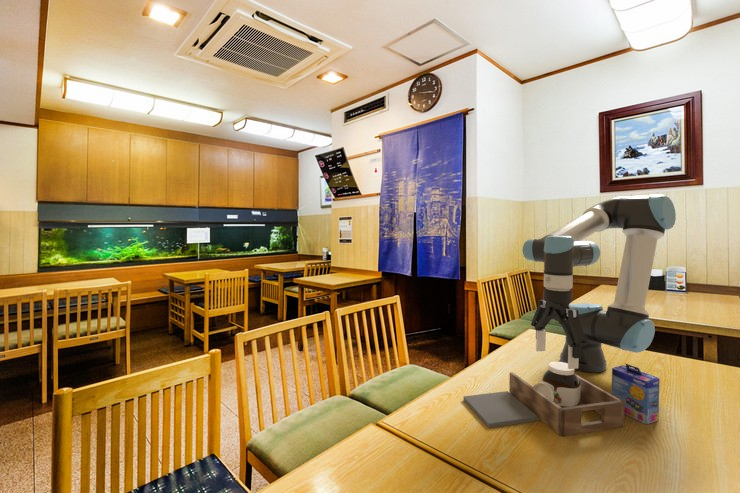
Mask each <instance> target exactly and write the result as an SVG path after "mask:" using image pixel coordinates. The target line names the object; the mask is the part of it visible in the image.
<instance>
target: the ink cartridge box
mask: <svg viewBox="0 0 740 493" xmlns="http://www.w3.org/2000/svg"><path fill="white" fill-rule="evenodd" d="M611 394H612V395H613V396H615V397H617V398H619V399H621V400H622V401H624V415H626V416H628V417H630V418H632V419H634V420H636V421H639V422H640V423H641V424H644V425H649V424H652V423H655V422H658V421H659V412H660V403H659V402H660V378H659V377H658V376H655V375H652V374H650V373H647V372H644V371H641V370H640V368H639V367H638V366H633V365H631V364H628V363H625V365H624V364H623V365H619V366H615V367H613V368H611Z"/></svg>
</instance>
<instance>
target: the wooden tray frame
mask: <svg viewBox="0 0 740 493" xmlns="http://www.w3.org/2000/svg"><path fill="white" fill-rule="evenodd" d="M574 374H575V375H576V376H577V377H578V378H579V380H580V385H581V394H580V401H579V403H581V404H580V405H579V404H578V405H577V406H572V407H565V408H562V407H560V406H559V405H557V404H556V403H555V402H553V401H552V400H550V399H549V398H548V397H546V396H545V395H544V394H542V393H541V392H539V391H538V390H537V389H535V388H534V387H533V385H531V384H530V383H528V382H527V381H526V380H524V379H523V378H521V377H520V376H518V375H517V374H516V373H514V372H513V371H510V372H509V382H508V383H509V385H508V386H509V390H508V392H509V393H510V394H512V395H513V396H514V397H515V398H516V399H518V400H519V401H520V402H521V403H522V404H524V405H525V406H526V407H527V408H528V409H530V410H531V411H532V412H533V413H535V414H536V415H537V416H538V420H540V421H542V423H544V424H545V425H546V426H547V427H548V428H550V429H551V430H552V431H554V432H555V433H556V434H557V435H559V437H567V436H573V435H579V434H585V433H593V432H599V431H606V430H611V429H618V428H624V426H625V425H624V423H625V414H624V401H622V400H621V399H619V398H617V397H615V396H613V395H612V393H611V392H610V393H609V391H606V390H605V389H602V388H601V387H599V386H597V385H595V384H594V383H592V382H590V381H589V380H586V379H585V378H583V377H581V376H579V375H578V374H576V373H574ZM586 411H594V412H596V413H597V414H599V415H600V416H601V419H600V420H597V421H596V420H595V421H590V422H589V421H587V422H583V423H582V417H583V415H582V413H583V412H586Z"/></svg>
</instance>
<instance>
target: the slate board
mask: <svg viewBox="0 0 740 493" xmlns="http://www.w3.org/2000/svg"><path fill="white" fill-rule="evenodd" d="M463 401H464V402H465V403H466V405H467V406H468V407H469V409H471V410H472V411H473V413H475V415H477V416H478V418H479V419H480V420H481V421H482V422H483V423H484V425H485V426H486V427H487V428H488V429H489V428H498V427H505V426H509V425H510V426H511V425H519V424H526V423H532V422H538V421H539V418H538V416H537V415H536V414H535V413H533V412H532V411H531V410H530V409H528V408H527V407H526V406H525V405H524V404H522V403H521V402H520V401H519V400H518V399H516V398H515V397H514V396H513V395H512V394H510V393H509V390H508V391H507V390H506V391H498V392H488V393H480V394H473V395H472V394H471V395H464V396H463Z"/></svg>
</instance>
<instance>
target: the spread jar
mask: <svg viewBox="0 0 740 493" xmlns="http://www.w3.org/2000/svg"><path fill="white" fill-rule="evenodd" d="M575 374H576V373H575V370H574V369H568V363H564V362H560V361H551V362H549V363H548V369H547V370H546V371H545V372H544V373H543V374H542V375H543V376H542V379H541V382H537V383H535V384H533V385H532V387H534V388H535V389H537V390H538V391H539V392H541V393H542V394H544V395H545V396H546V397H548V398H549V399H550V400H552V401H553V402H555V403H556V404H557V405H559V406H560V407H562V408H565V407H572V406H579V403H580V394H581V385H580V380H579V378H578V377H577V376H576V375H577V374H576V375H575Z"/></svg>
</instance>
